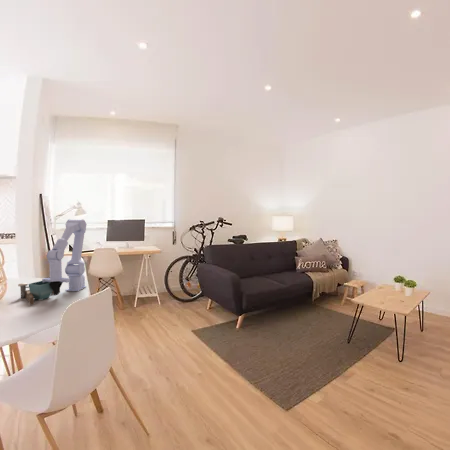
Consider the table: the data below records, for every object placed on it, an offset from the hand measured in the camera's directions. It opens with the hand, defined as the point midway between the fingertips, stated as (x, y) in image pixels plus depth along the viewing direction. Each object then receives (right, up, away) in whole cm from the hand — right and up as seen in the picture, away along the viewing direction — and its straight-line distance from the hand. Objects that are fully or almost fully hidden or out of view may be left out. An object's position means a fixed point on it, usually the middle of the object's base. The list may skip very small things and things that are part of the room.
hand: (56, 294), depth 153 cm
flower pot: (-8, -2, -1) cm, 8 cm away
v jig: (-13, -2, +1) cm, 13 cm away
